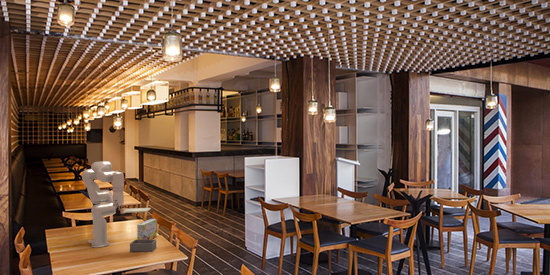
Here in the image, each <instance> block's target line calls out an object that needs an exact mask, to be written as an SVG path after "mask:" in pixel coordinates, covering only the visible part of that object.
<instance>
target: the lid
mask: <svg viewBox="0 0 550 275" xmlns="http://www.w3.org/2000/svg"><path fill="white" fill-rule="evenodd" d="M151 209H152V208H151V207H142V208H141V207H140V208H139V207H136V208H135V207H134V208H133V207H132V208H123V209H120V214H122V215H123V214H126V213H148V212H149V211H150V210H151Z"/></svg>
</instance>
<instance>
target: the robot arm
mask: <svg viewBox="0 0 550 275" xmlns="http://www.w3.org/2000/svg"><path fill="white" fill-rule="evenodd" d="M81 178H82V182H83V185H84V186H85V187H86V189H87V194H88V197H89V200H90V202H91V203H92V204H94V205H93V206H92V207H91V212H90V213H91V216H92V232H93V234H92V236H93V239H88V243H89V244H91V247H92V248H104V247H107V246H110V241H108V224H107V223H108V222H107V220H106V219H105V218H104V217H106V216H111V215H114V214H115V217H120V216H122V215H123V214H120V209H124V208H123V205H124V203H125V195H124V192H125V176H124V172H123V171H119V170H113V164H112V162H110V161H108V160H103V161H95V162H93V163H92V164H91V166H90V168H89V169H85V170H83V171H82V172H81ZM95 180H98V181H99V182H102V183H112V191H110V190H109V189H104V190H101V189H100V186H99V183H98V182H96V181H95Z"/></svg>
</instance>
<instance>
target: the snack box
mask: <svg viewBox="0 0 550 275" xmlns="http://www.w3.org/2000/svg"><path fill="white" fill-rule="evenodd" d="M157 221H158V220H157V218H150V219H147V220H145V221H143V222H140V223H138V224H137V227H136V228H137V229H136V232H137V233H136V236H137V237H136V238H137V239H136V240H155V238H157V236H158V235H157V234H158V233H157V231H158V230H157V228H158V227H157V224H158V223H157Z"/></svg>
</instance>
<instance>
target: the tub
mask: <svg viewBox="0 0 550 275" xmlns="http://www.w3.org/2000/svg"><path fill="white" fill-rule="evenodd" d="M156 249H157V239H152V240H137V239H134V240H132V242H130V243H129V253H152V252H154V251H155V250H156Z"/></svg>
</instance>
